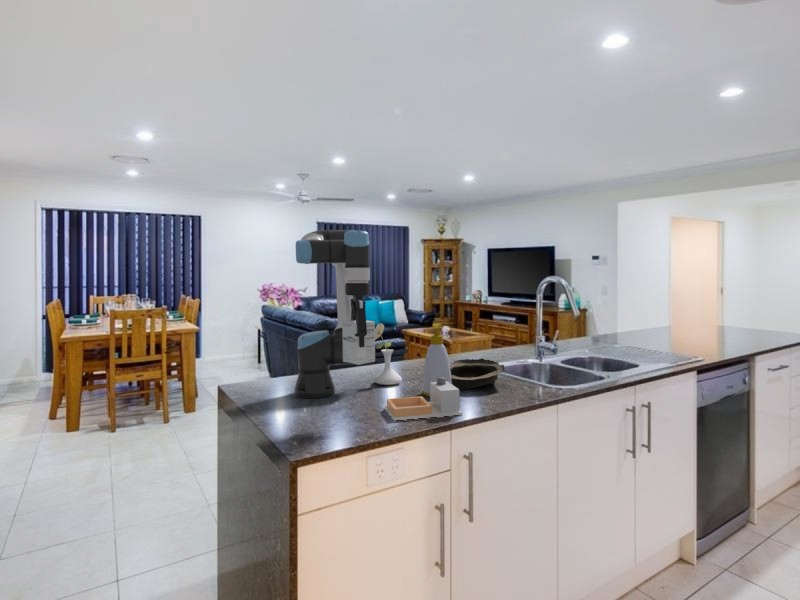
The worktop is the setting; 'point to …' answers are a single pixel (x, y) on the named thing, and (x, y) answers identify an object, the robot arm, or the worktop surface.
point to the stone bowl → (474, 373)
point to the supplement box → (351, 343)
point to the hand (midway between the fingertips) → (359, 354)
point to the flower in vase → (387, 373)
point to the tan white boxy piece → (427, 403)
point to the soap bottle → (436, 361)
